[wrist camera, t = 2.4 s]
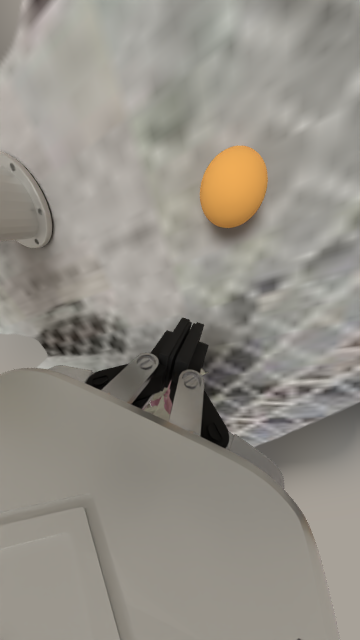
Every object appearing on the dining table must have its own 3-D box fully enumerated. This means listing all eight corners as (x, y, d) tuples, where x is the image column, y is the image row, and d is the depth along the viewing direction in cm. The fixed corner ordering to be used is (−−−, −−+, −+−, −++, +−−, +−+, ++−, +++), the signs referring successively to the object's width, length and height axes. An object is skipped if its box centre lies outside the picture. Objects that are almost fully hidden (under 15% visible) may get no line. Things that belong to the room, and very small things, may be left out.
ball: (200, 220, 20) (187, 222, 15) (213, 153, 17) (202, 128, 12) (249, 231, 19) (252, 236, 14) (274, 161, 16) (289, 137, 11)
